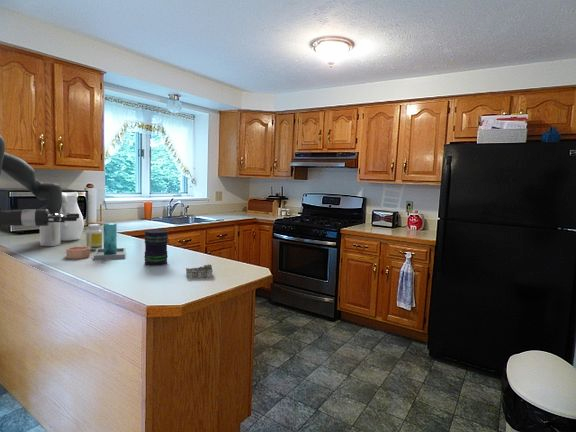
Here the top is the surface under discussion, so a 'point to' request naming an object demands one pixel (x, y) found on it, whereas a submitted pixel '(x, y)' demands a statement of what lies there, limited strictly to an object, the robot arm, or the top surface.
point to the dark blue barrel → (156, 247)
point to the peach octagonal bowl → (78, 252)
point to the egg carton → (199, 272)
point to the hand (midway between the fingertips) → (77, 217)
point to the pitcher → (71, 228)
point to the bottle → (110, 238)
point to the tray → (100, 255)
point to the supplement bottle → (94, 237)
